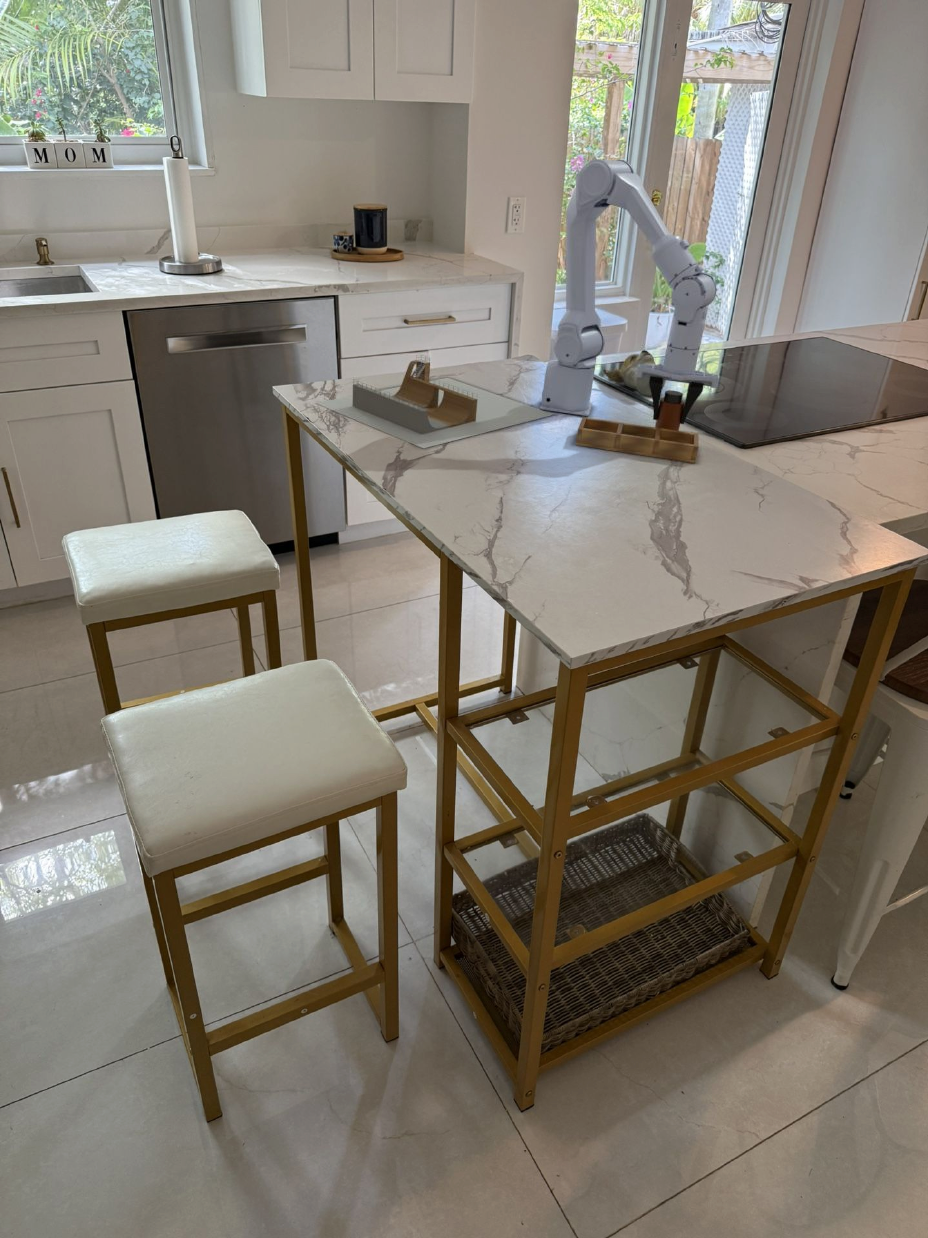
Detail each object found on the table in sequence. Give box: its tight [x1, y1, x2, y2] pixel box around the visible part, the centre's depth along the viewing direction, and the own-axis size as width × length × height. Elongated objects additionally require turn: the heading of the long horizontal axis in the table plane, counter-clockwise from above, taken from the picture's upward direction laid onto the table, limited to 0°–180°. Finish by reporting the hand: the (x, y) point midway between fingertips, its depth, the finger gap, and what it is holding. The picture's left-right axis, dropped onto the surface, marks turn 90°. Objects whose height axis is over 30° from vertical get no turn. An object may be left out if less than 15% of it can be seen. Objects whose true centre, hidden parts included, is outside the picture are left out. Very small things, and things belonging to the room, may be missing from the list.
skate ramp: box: [315, 354, 555, 449], centre depth 165 cm, size 29×35×8 cm
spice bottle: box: [654, 389, 685, 431], centre depth 163 cm, size 4×4×8 cm
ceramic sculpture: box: [602, 349, 667, 397], centre depth 190 cm, size 11×9×15 cm
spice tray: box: [575, 416, 700, 464], centre depth 157 cm, size 21×8×3 cm, turn 77°
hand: (668, 420), depth 164 cm, fingers closed on spice bottle, 4 cm apart
